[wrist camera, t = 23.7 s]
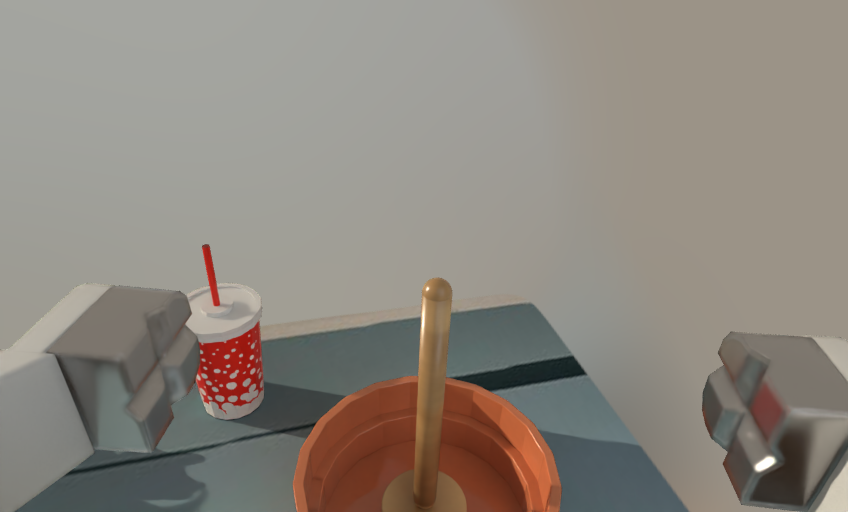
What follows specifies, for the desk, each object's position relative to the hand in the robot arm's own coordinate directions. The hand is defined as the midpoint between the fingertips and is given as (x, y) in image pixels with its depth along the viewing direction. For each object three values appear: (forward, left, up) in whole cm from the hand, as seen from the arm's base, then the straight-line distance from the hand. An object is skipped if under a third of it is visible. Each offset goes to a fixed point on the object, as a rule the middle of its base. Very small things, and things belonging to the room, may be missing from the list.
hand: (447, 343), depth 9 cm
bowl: (-1, -15, -28) cm, 31 cm away
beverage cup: (+14, -26, -28) cm, 40 cm away
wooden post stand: (-1, -15, -27) cm, 31 cm away
